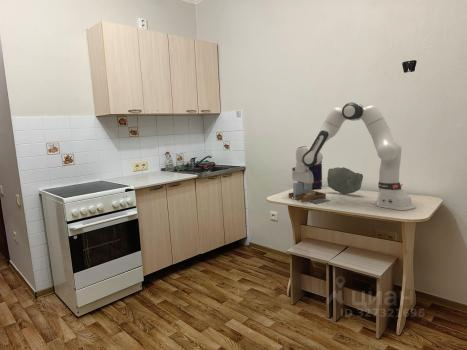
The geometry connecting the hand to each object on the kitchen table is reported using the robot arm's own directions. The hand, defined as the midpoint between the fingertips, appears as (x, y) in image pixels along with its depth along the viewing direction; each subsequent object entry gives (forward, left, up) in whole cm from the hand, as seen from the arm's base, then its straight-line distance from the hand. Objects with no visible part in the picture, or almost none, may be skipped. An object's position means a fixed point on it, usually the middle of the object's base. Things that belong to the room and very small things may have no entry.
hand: (302, 188), depth 234 cm
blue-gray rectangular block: (0, 0, -7) cm, 7 cm away
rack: (-4, 0, -7) cm, 8 cm away
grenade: (+22, -27, -7) cm, 35 cm away
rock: (-11, -29, -7) cm, 32 cm away
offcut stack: (-7, 0, -7) cm, 10 cm away
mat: (-17, -1, -7) cm, 18 cm away
